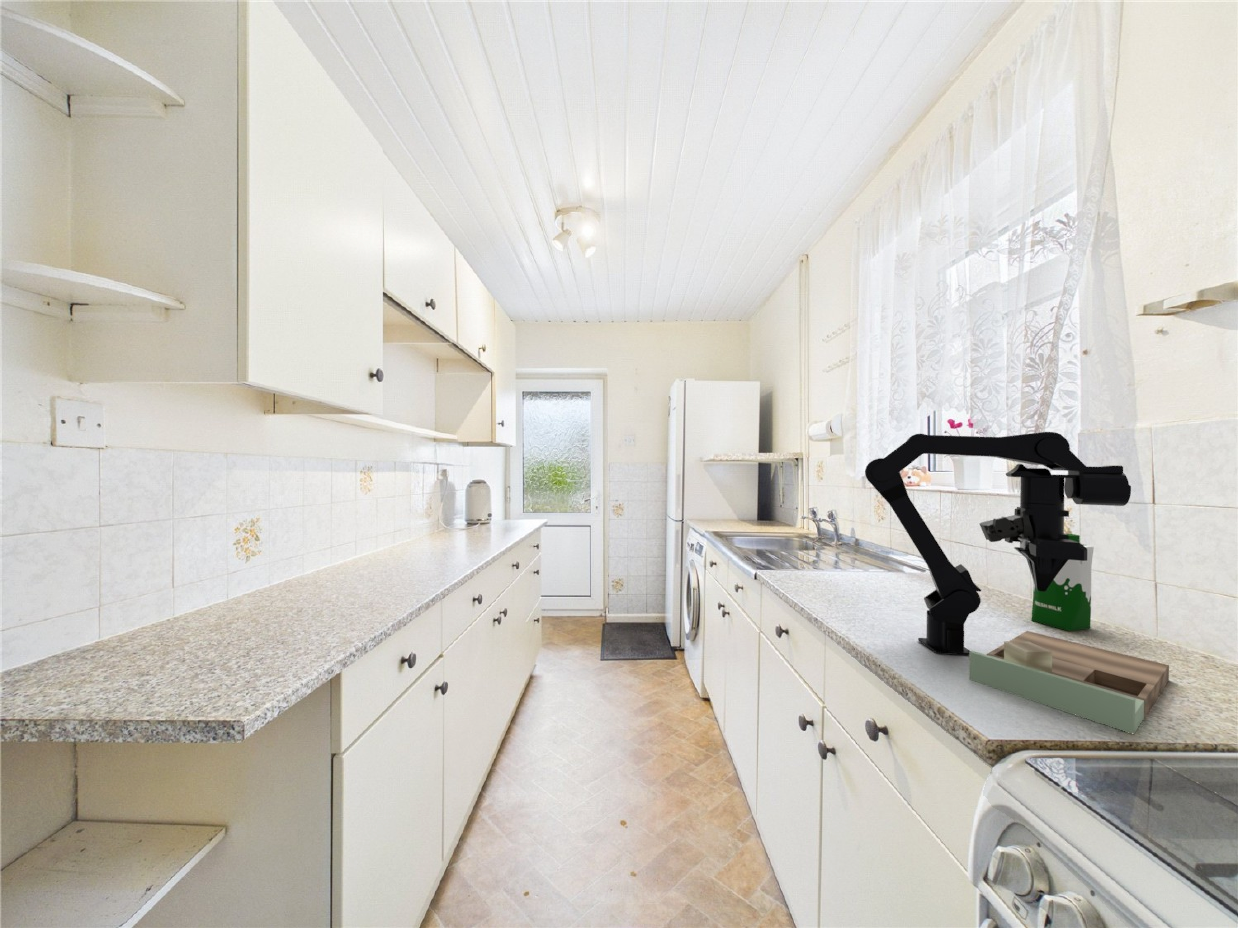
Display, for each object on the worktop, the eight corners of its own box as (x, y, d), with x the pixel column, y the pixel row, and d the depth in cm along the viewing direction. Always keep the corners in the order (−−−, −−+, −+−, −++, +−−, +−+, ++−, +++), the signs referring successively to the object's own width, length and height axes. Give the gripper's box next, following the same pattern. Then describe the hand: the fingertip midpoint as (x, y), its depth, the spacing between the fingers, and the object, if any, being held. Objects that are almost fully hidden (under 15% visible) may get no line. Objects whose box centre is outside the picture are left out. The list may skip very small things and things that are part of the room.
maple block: (1028, 666, 74) (1028, 641, 74) (1051, 677, 70) (1052, 651, 70) (1003, 665, 74) (1004, 641, 74) (1025, 677, 70) (1026, 651, 70)
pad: (985, 668, 78) (986, 642, 78) (1143, 718, 63) (1144, 686, 63) (969, 679, 74) (969, 651, 74) (1133, 734, 59) (1133, 700, 59)
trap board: (1026, 643, 90) (1026, 630, 90) (1168, 680, 75) (1168, 665, 75) (985, 668, 78) (985, 654, 78) (1143, 718, 63) (1144, 700, 63)
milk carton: (1098, 629, 98) (1099, 537, 98) (1071, 633, 95) (1072, 538, 95) (1049, 616, 106) (1050, 531, 106) (1023, 619, 104) (1024, 532, 104)
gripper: (973, 497, 92) (972, 574, 92) (998, 504, 76) (997, 597, 76) (1045, 500, 87) (1044, 581, 87) (1089, 508, 71) (1088, 608, 71)
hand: (1040, 590), depth 80 cm, fingers closed
